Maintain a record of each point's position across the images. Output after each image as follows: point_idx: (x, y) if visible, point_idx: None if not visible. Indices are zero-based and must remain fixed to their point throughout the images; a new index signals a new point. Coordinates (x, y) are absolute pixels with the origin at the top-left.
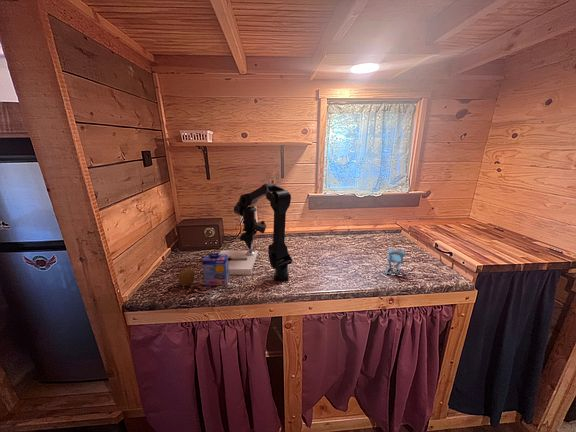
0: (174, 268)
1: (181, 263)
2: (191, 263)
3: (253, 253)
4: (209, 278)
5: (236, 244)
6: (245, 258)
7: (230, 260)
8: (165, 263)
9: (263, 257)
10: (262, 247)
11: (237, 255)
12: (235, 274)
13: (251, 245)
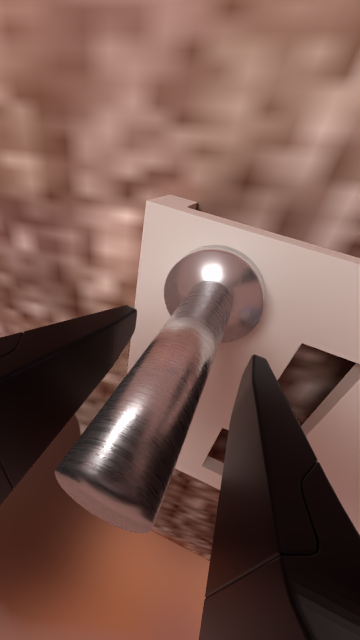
0: None
1: (188, 522)
2: (196, 508)
3: (258, 279)
4: None
5: (5, 326)
6: (291, 353)
7: None
8: (177, 540)
9: (237, 124)
10: (4, 123)
11: (216, 397)
12: None
13: (206, 354)
